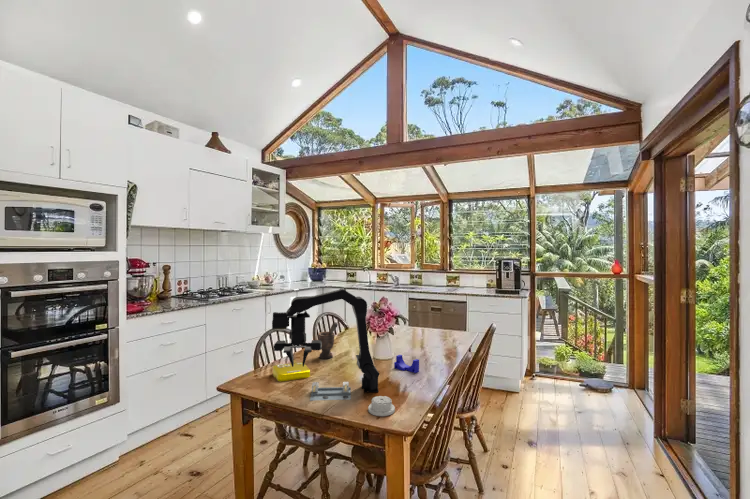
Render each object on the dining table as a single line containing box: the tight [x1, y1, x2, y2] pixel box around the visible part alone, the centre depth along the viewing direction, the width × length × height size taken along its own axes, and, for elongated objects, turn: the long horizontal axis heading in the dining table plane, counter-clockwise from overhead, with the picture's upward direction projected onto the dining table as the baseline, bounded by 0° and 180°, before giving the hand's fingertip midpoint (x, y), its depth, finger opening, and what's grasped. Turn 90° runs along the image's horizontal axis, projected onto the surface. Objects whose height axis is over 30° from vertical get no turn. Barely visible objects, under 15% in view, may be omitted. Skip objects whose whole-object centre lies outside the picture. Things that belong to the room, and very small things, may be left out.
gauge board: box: [309, 381, 352, 401], centre depth 154 cm, size 16×12×4 cm
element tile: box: [272, 361, 311, 383], centre depth 177 cm, size 15×15×5 cm
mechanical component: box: [367, 395, 396, 417], centre depth 142 cm, size 10×4×10 cm
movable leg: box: [311, 381, 320, 393], centre depth 153 cm, size 2×8×4 cm, turn 4°
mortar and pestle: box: [317, 322, 339, 360], centre depth 206 cm, size 12×9×20 cm
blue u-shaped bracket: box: [393, 354, 420, 374], centre depth 187 cm, size 12×4×6 cm, turn 47°
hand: (298, 366), depth 155 cm, fingers open, 4 cm apart
